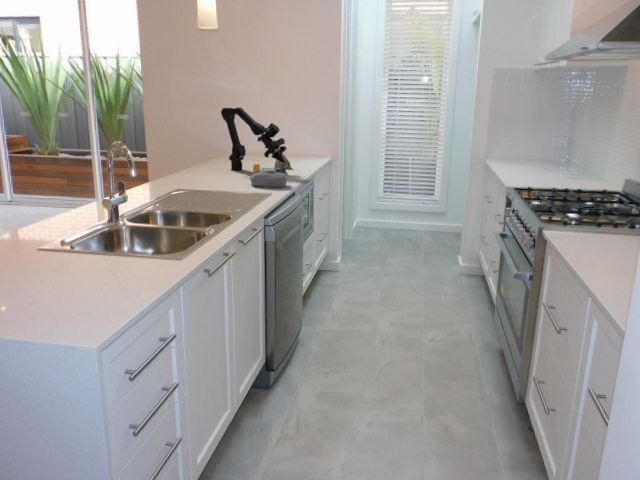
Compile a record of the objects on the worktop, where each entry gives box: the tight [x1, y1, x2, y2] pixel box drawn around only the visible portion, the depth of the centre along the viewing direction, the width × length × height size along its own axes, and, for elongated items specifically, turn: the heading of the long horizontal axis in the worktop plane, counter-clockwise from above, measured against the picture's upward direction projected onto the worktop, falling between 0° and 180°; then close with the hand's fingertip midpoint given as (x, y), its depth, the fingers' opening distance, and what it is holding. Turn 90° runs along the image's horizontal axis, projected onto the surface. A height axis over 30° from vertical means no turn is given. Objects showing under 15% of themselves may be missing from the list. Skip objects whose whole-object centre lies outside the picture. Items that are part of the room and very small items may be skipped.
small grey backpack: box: [249, 171, 287, 189], centre depth 306 cm, size 15×8×20 cm
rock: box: [273, 153, 292, 170], centre depth 368 cm, size 11×9×10 cm
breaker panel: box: [260, 167, 287, 175], centre depth 347 cm, size 16×17×4 cm
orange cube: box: [252, 162, 261, 173], centre depth 352 cm, size 4×4×5 cm
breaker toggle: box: [279, 159, 289, 171], centre depth 341 cm, size 2×3×8 cm
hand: (283, 162), depth 340 cm, fingers closed
